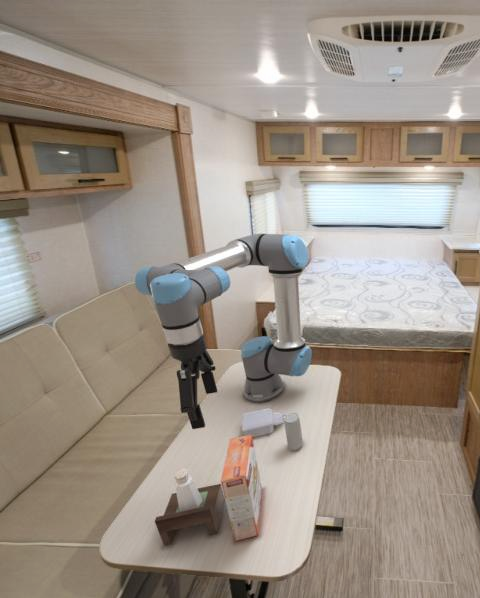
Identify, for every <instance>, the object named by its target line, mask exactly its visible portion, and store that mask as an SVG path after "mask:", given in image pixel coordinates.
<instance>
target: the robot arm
mask: <svg viewBox="0 0 480 598" xmlns="http://www.w3.org/2000/svg"><path fill="white" fill-rule="evenodd" d="M308 251H309V250H308V248H307V245H306V242H305V241H304V240H303V238H301V236H298V235H294V234H289V233H287V234H286V233H285V234H281V233H278V234H277V233H255V234H250V235H246V236H243V237H240V238H236V239H233V240H231V241H230V240H229V242H228V243H227V244H226V245H225V246H222V247H219V248H216V249H213V250H210V251H206V252H203V253H201V254H198V255H195V256H192V257H188V258H185V259H182V260H179V261H176V262H173V263H169V264H167V265H163V266H158V267H157V266H153V265H152V266H144V267H142V268H140V269H139V270H137V271H136V273H135V275H134V278H133V279H134V280H133V283H134V287H135V289H136V290H137V292H138V293H140V294H141V295H145V296H151V298H152V302H153V303H154V307H155V310H156V312H157V316H158V318H159V321H160V324H161V327H162V328H161V332H162V333H163V334H164V336H165V340H166V342H167V346H168V351H169V353H170V356H171V358H172V359H173V360H177V361H179V362H180V369H178V370H176V377H177V382H178V392H179V402H180V403H179V404H180V408H179V409H180V413H181V414H185V413H186V414H187V417H188V420H189V424H190V426H191V429H192V430H197V429H204V428H206V423H205V419H204V415H203V412H202V409H201V406H200V405H201V404H198V380H199V379H200V377H201V379H202V384H203V388H204V390H205V394H206V395H210V394H216V393H218V388H217V384H216V380H215V376H214V371H216V366H215V365H214V364H215V363H214V360H213V358H212V357H211V355H210V353H209V351H208V350H207V348H208V345H207V342H206V339H205V336H204V330H203V326H202V323H201V318H200V315H199V311H198V308H200V307H202V306H203V305H205V304H207V303H209V302H211V301H213V300H214V299H216V298H219V297H221V296H222V295H223V294H225V292H227V291H228V290H229V289H230V287H231V279H230V276H229V274H228V271H231V270H233V269H235V268H245V267H248V266H258V267H259V266H260V267H267V268H268V274H269V275H270V276H271V277H273V290H274V306H275V319H276V320H275V321H276V334H277V335H276V337H277V339H275V340H274V341H273V340H272V338H271V337H270V336H266V335H264V336H258V337H254V338H251V339H249V340H247V341H246V342H244V343H243V344H242V346H241V348H240V353H241V360H242V364H243V365H242V366H243V369H244V370H243V371H244V375H245V381H244V387H243V394H244V398H245V400H247V401H249V402H253V403H262V402H264V403H265V402H267V401H268V402H269V401H271V400H273V399H275V398H277V397H278V396H280V395H281V393H282V392H283V391H284V388H285V387H284V385H285V384H284V381H283V379H282V377H281V376H280V375H282V376H290V377H302V376H303V375H304V374H305V373H306V372H307V371H308V369H309V367H310V365H311V362H312V356H313V352H312V348H311V347H310V346H306V339H305V338H304V337H303V336H302V329H301V328H302V327H301V326H302V325H301V308H300V307H301V306H300V286H299V276H300V275H302V273H303V269H305V268H306V267H307V264H308V261H309V252H308ZM200 372H201V373H200Z"/></svg>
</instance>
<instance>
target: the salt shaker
mask: <svg viewBox="0 0 480 598" xmlns="http://www.w3.org/2000/svg"><path fill="white" fill-rule="evenodd" d="M174 479H175V483H174V486H175V493H177V499H178V504H179V509H180V512H182V511H186V510H191V509H195V508H199V506H200V504H201V503H202V501H203V500H202V497H201V495H200V493H199V491H198V487H197V485H196V483H195V481H194V479H193V477H192V475H190V474H189V470H188V469H186V468H182V469H180V470H178V471H176V472H175V473H174Z"/></svg>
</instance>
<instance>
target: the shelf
mask: <svg viewBox="0 0 480 598" xmlns="http://www.w3.org/2000/svg"><path fill="white" fill-rule="evenodd" d="M197 489H198V491H199V493H200V495H201V497H202V500H203V501H202V503H201V504H200V506H199V508H195V509H191V510H186V511H182V512H180V509H179V504H178V499H177V493H176V492H174V493H173V492H172V493H171V495H170V498H169V500H168V502H167V506H166V508H165V509H164V513H163V515H159V516H156V517H155V519H154V525H155V526H156V528H157V532H158V533H159V536H160V539H161V542H162V544H163V546H164V547H165V546H170V545H172V544H173V541H174V537H175V534H176V532H177V530H179V529H183V528H189V527H193V526H197V525H201V524H206V526H207V529H208V533H209V535H210V536H212V535H217V534H218V531H219V527H220V523H221V518H222V513H223V509H224V504H225V502H226V501H225V497H224V493H223V489H222V484H221V483H218V484H213V485H208V486H203V487H197Z"/></svg>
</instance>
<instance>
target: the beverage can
mask: <svg viewBox="0 0 480 598" xmlns="http://www.w3.org/2000/svg"><path fill="white" fill-rule="evenodd" d="M286 414H287V415H286ZM286 414H285V415H286V416H284V417H283V418H284V419H283V423H284V429H285V437H286V442H287V447H288V449H289V450H291V451H299V450H300V449H301V448H302V447H303V444H304V441H303V433H302V426H301V419H300V415H299V413H297V412H290V413H286Z"/></svg>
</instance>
